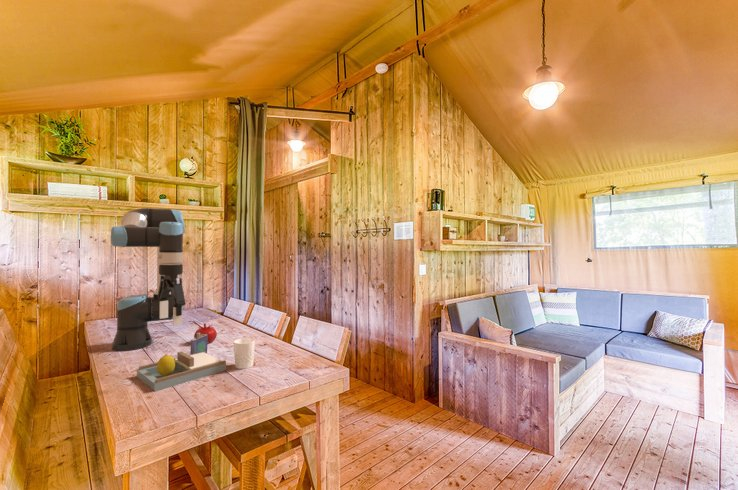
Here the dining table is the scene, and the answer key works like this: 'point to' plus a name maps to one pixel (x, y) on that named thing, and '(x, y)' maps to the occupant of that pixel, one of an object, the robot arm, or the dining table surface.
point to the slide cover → (195, 360)
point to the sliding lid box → (176, 374)
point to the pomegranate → (207, 332)
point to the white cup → (244, 352)
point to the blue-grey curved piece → (199, 343)
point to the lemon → (166, 365)
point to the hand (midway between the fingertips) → (170, 321)
